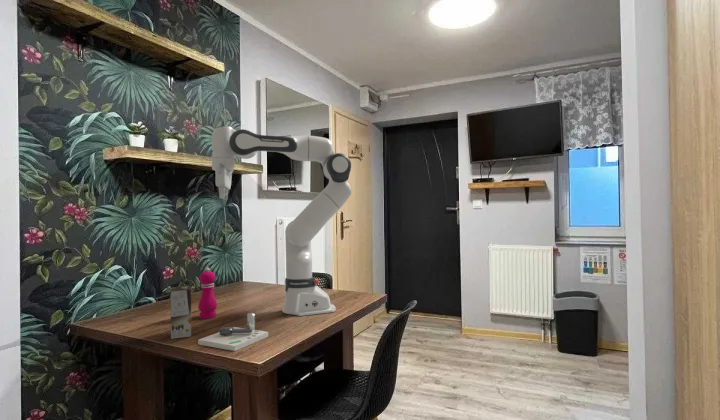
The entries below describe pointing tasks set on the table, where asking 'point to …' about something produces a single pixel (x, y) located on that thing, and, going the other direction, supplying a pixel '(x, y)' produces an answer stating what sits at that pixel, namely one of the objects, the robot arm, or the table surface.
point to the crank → (247, 330)
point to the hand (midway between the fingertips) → (223, 199)
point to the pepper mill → (207, 295)
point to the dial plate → (233, 339)
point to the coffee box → (180, 312)
